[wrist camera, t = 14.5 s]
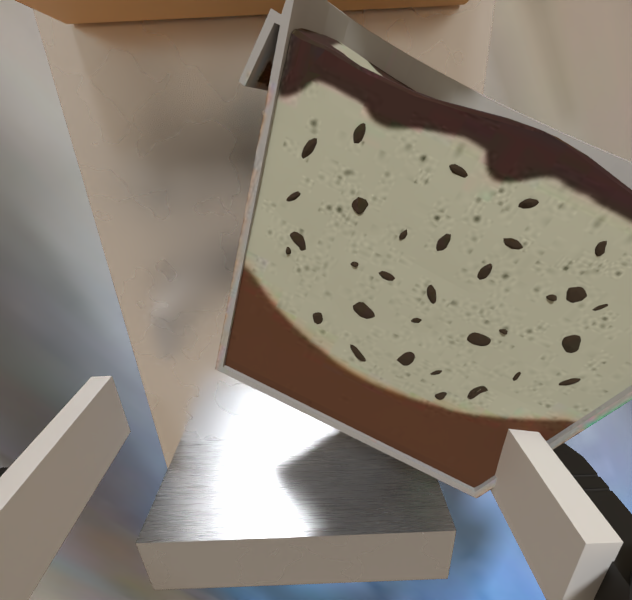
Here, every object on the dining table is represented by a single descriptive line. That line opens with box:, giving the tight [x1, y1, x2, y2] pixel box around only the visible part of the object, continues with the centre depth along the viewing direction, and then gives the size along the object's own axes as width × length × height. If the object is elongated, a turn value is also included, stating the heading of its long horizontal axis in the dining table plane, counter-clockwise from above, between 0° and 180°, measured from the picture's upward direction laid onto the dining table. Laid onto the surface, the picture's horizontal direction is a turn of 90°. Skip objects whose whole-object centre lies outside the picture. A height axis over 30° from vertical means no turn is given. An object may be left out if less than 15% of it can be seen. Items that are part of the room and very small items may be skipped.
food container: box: [215, 0, 632, 498], centre depth 12 cm, size 12×6×10 cm
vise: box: [33, 0, 495, 590], centre depth 12 cm, size 14×28×6 cm, turn 2°
